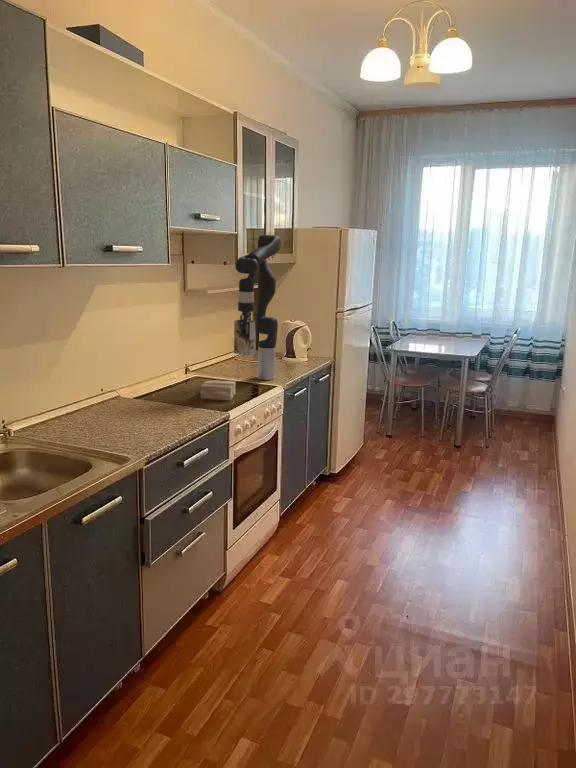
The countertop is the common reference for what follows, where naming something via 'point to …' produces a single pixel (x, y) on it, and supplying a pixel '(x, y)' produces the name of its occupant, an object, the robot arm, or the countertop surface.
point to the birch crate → (218, 390)
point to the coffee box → (245, 338)
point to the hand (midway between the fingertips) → (245, 335)
